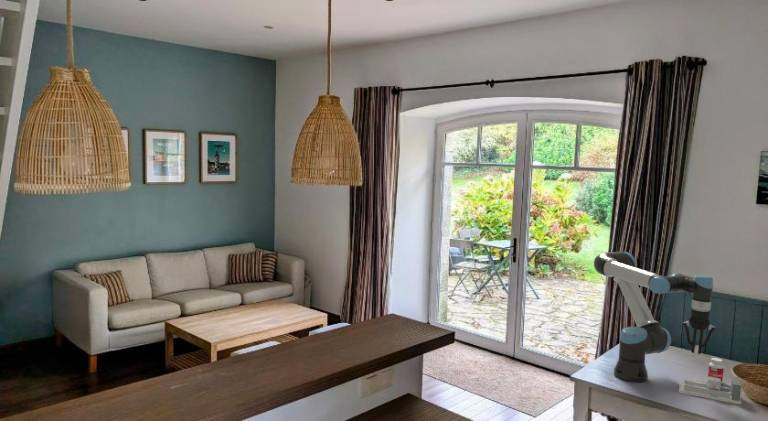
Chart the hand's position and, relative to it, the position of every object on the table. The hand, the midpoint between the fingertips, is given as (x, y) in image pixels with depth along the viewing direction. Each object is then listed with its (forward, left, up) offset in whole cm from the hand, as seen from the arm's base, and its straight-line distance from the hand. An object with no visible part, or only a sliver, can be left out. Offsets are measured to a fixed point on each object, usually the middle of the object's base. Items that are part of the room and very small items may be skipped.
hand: (695, 360), depth 260 cm
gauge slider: (+9, -2, -13) cm, 16 cm away
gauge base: (+7, 0, -15) cm, 16 cm away
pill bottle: (+10, +20, -15) cm, 26 cm away
